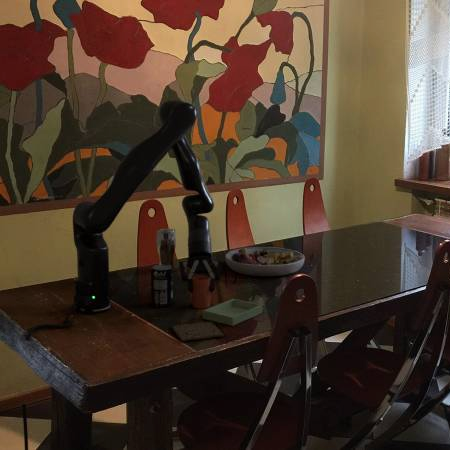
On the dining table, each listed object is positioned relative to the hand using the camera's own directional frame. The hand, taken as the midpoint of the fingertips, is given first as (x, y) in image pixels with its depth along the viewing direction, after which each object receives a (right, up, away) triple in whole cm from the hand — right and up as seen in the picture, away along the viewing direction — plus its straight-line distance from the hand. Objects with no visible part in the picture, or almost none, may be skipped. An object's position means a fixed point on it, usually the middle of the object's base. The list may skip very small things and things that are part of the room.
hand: (201, 291), depth 224 cm
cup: (0, -5, +3) cm, 6 cm away
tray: (+10, -7, -6) cm, 14 cm away
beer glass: (-19, +4, +44) cm, 48 cm away
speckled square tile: (+2, -10, -22) cm, 24 cm away
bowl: (+17, +4, +50) cm, 53 cm away
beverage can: (-13, -5, +3) cm, 14 cm away
